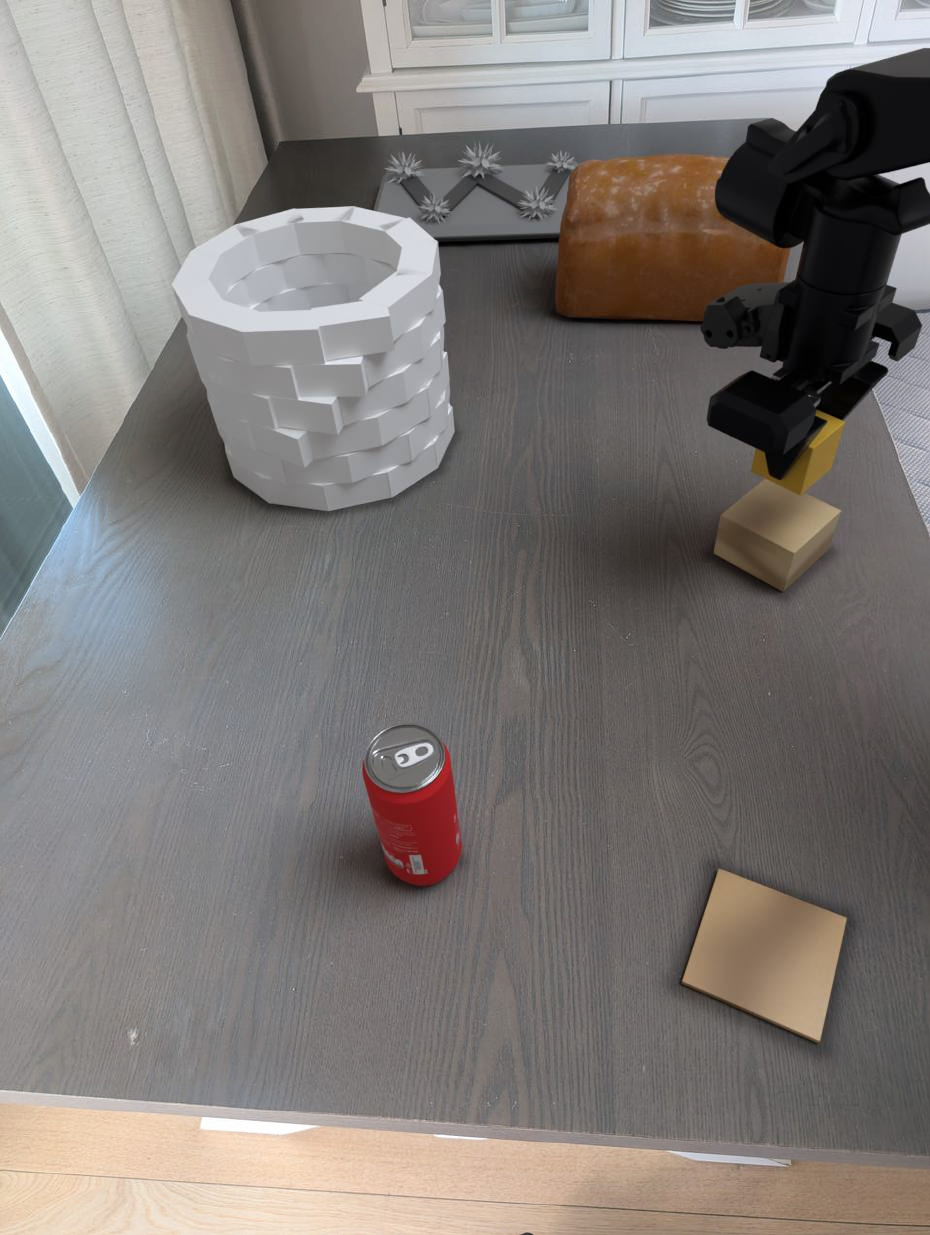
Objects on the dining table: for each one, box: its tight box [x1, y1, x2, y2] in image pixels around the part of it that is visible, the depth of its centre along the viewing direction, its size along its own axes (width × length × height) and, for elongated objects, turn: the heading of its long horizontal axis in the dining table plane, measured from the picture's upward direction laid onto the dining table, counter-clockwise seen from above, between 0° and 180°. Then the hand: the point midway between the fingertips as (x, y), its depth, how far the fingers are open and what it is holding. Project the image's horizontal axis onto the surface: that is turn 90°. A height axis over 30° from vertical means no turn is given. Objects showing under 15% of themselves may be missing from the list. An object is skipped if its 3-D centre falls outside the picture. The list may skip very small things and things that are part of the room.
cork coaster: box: [681, 868, 848, 1044], centre depth 54 cm, size 8×8×1 cm
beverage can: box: [361, 722, 463, 887], centre depth 56 cm, size 5×5×12 cm
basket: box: [170, 205, 456, 512], centre depth 86 cm, size 25×24×19 cm
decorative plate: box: [372, 140, 580, 243], centre depth 125 cm, size 30×22×7 cm
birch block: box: [713, 478, 842, 593], centre depth 76 cm, size 7×7×4 cm
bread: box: [554, 153, 792, 322], centre depth 102 cm, size 14×26×16 cm, turn 81°
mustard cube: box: [750, 409, 846, 495], centre depth 69 cm, size 4×4×4 cm
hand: (793, 462), depth 71 cm, fingers closed on mustard cube, 4 cm apart
